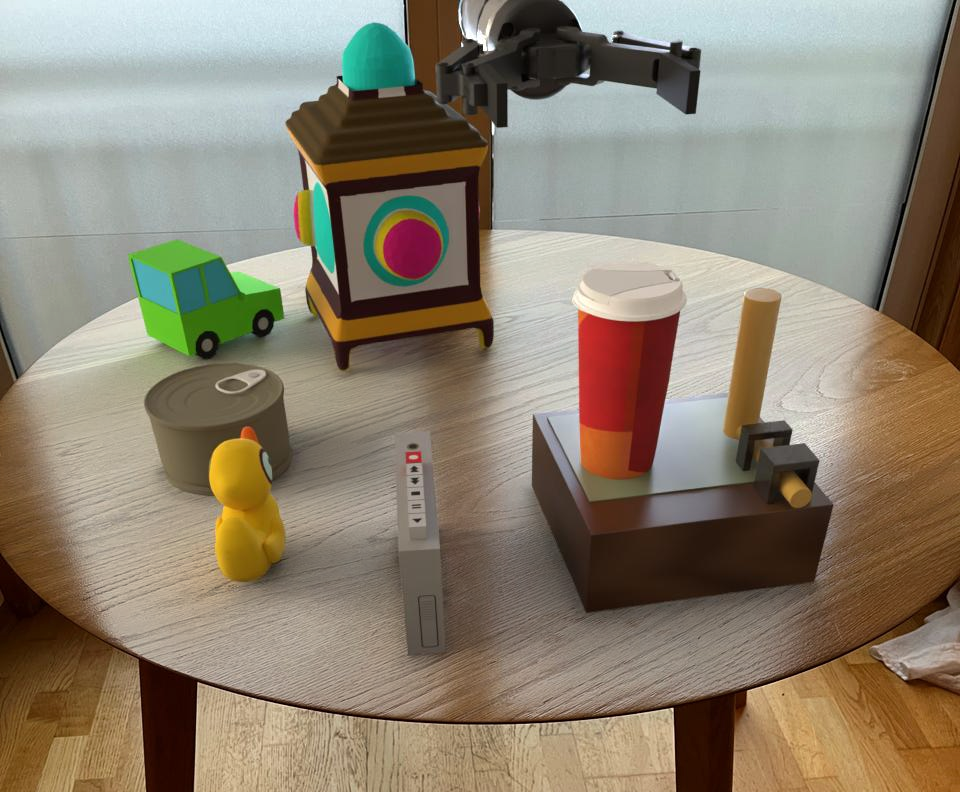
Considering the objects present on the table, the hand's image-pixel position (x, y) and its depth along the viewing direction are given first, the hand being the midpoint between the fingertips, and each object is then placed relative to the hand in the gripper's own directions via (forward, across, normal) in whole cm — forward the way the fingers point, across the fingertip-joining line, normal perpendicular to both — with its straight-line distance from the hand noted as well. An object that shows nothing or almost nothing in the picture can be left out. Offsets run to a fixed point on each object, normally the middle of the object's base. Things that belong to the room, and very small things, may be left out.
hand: (599, 99), depth 68 cm
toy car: (-38, +32, -30) cm, 58 cm away
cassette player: (+13, +16, -30) cm, 37 cm away
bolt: (+13, -11, -23) cm, 28 cm away
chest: (+10, -4, -30) cm, 32 cm away
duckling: (+7, +28, -30) cm, 42 cm away
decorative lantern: (-34, +12, -30) cm, 47 cm away
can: (-9, +31, -30) cm, 44 cm away
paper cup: (+10, 0, -23) cm, 25 cm away
